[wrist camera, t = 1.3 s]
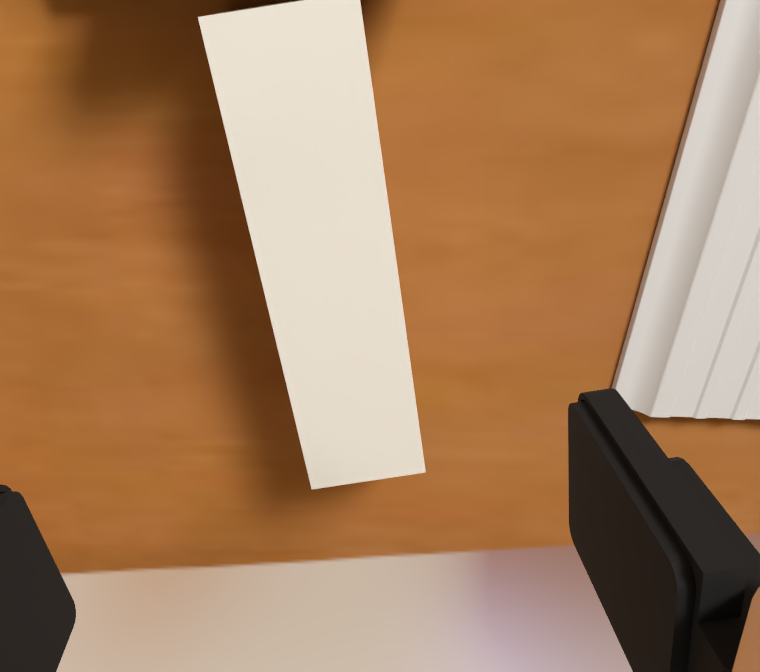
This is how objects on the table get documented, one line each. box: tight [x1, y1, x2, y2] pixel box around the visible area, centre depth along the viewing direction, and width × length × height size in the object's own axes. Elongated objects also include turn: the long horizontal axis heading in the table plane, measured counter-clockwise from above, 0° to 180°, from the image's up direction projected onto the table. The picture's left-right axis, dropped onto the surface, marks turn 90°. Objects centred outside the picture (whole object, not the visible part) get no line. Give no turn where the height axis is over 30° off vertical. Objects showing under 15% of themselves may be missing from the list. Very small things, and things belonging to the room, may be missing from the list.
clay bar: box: [198, 0, 425, 489], centre depth 22 cm, size 15×4×5 cm, turn 8°
